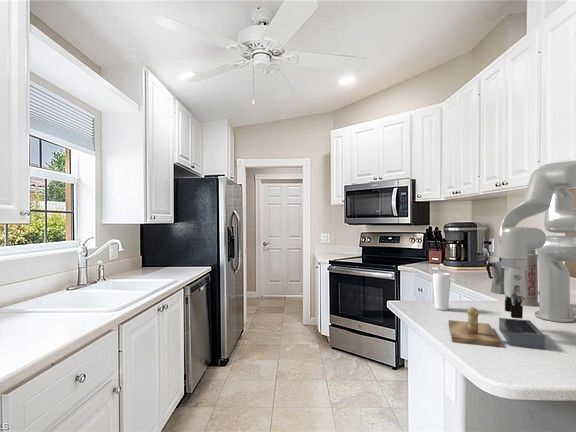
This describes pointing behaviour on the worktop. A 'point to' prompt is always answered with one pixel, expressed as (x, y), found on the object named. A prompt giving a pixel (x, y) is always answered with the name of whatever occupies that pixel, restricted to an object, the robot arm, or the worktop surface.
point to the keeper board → (470, 338)
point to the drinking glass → (441, 290)
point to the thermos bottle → (531, 279)
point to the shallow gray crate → (521, 333)
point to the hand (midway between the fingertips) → (513, 314)
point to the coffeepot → (496, 277)
